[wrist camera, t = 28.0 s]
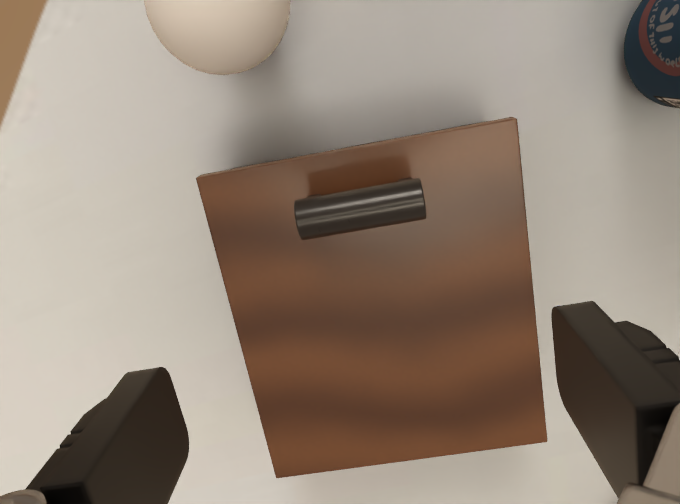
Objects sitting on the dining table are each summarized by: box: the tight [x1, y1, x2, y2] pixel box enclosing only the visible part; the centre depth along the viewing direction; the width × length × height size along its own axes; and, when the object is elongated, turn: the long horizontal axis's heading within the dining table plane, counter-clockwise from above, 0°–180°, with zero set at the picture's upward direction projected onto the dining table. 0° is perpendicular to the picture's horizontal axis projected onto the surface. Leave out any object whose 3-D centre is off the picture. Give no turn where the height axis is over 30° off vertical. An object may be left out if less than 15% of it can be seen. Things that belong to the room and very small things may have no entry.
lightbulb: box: [144, 0, 290, 75], centre depth 27 cm, size 6×6×11 cm
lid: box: [196, 117, 547, 478], centre depth 29 cm, size 18×16×5 cm
